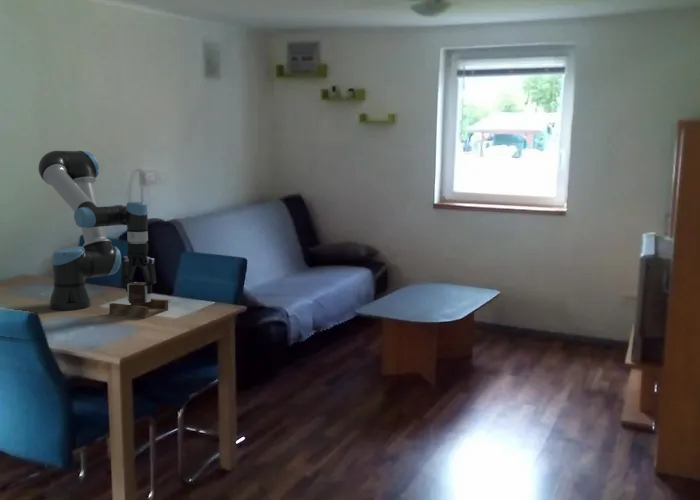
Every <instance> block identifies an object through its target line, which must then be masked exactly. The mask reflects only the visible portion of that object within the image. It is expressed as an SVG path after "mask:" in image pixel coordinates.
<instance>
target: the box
mask: <svg viewBox="0 0 700 500" xmlns="http://www.w3.org/2000/svg"><path fill="white" fill-rule="evenodd" d="M145 286H146V282H144V281H139V282H138V281H134V282H133V281H132V283H131V284H129V301H128V303H129V304H131V303H145Z"/></svg>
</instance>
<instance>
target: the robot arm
mask: <svg viewBox="0 0 700 500" xmlns="http://www.w3.org/2000/svg"><path fill="white" fill-rule="evenodd" d="M99 169H100V166H99V161H98V159H97V158H96V156H95V155H94V154H93V153H91V152H90V151H83V150H52V151H49V152H47V153H45V154H44V155H43V156H42V157H41V158H40V160H39V163H38V173H39V176H40V177H41V180H43V181H44V182H45V183H46V184H47V185H48V186H49V185H50V186H51V187H52V188H53V189H54V190H55V191H56V193H57V194H58V195H59V196H60V197H61V199H63V200H64V202H65V203H66V204H67V205H68V206H69V207H70V209H71V210H72V211H73V213H74V214H73V219H74V221H75V225H76V226H77V227H79V228H80V229H81V232H82V236H83V240H84V243H83V245H82V246H79V245H74V246H67V247H66V246H65V247H63V248H59V249H57V250H55V251H54V252H53V253H52V263H51V264H52V276H53V277H52V278H53V290H52V293H51V297H50V300H49V308H50V309H51V310H59V311H60V310H61V311H72V310H80V309H86V308H88V307H90V306H91V298H90V296H89V292H88V290H87V286H86V279H91V278H98V277H107V276H110V275H111V276H112V275H114V274H116V273H117V272H118V271H119V270H120V267H121V273H120V275H121V276H120V281H121V282H122V283H124V284H125V291H126V293H127V301H128V302H129V284H131V283H133V279H134V275H135V272H136V268H137V267H139V269H140V270H141V273H142V276H143V279H144V281H145V282H146V286H145V303H147V302H150V301H151V298H152V295H151V294H153V285H155V284H157V283H158V281H157V273H156V266H155V263H156V258H154V257H150V256H149V255H148V252H149V243H148V241H149V233H148V232H149V231H148V229H149V228H148V227H149V226H148V225H149V224H148V221H149V220H148V215H149V214H148V213H149V212H148V204H147V203H146V202H145V201H128V202H127V203H126V205H122V204H114V205H110V206H109V205H107V206H99V203H98V199H97V195H96V191H95V186H94V184H95V183H96V181H97V178H98V176H99V173H100V170H99ZM112 226H113V227H115V226H126V232H127V233H126V234H127V236H126V238H127V240H126V241H127V242H128V243H127V253H128V255H125V256H122V255H121V251H120V249H119V248H118V247H117V246H114V245H113V243H112V240H110V239H108V238H107V235H106V230H105V227H112ZM121 265H122V266H121Z"/></svg>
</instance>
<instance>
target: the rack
mask: <svg viewBox="0 0 700 500" xmlns="http://www.w3.org/2000/svg"><path fill="white" fill-rule="evenodd" d="M108 309H109V315H113V316H121V317H129V318H131V317H132V318H141V319H148V318H149V317H153V316H155V315H158V314H160V313H164V312H167V311H169V300H168V299H162V298H161V299H159V298H152V297H151V301H150V302H147V303H130V304H124V303H118V302H117V303H116V302H115V303H114V302H112V303H109V307H108Z"/></svg>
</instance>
